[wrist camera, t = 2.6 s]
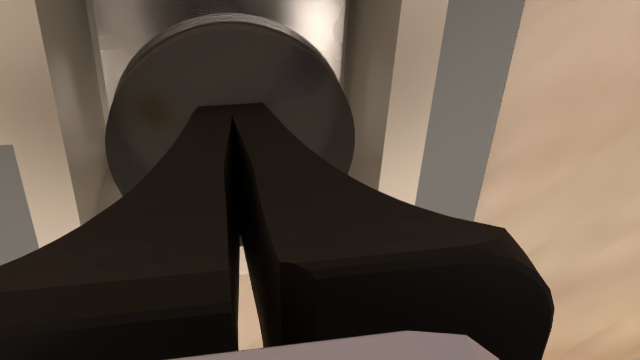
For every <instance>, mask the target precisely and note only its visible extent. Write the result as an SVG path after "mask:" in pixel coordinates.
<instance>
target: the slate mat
mask: <svg viewBox="0 0 640 360" xmlns="http://www.w3.org/2000/svg"><path fill="white" fill-rule="evenodd" d="M524 3H525V0H449V2H448V8H447V14H446V20H445V26H444V32H443V38H442V44H441V50H440V56H439V62H438V68H437V74H436V80H435V86H434V92H433V98H432V104H431V110H430V116H429V122H428V129H427V135H426V141H425V147H424V153H423V159H422V165H421V171H420V177H419V183H418V189H417V195H416V201H415V206H417V207H421V208H424V209H427V210H430V211H434V212H437V213H440V214H443V215H447V216H450V217H455V218H459V219H464V220H468V221H474V217H475V212H476V208H477V204H478V199H479V195H480V191H481V187H482V182H483V178H484V174H485V170H486V165H487V161H488V157H489V153H490V148H491V144H492V140H493V135H494V131H495V127H496V123H497V118H498V114H499V110H500V106H501V101H502V97H503V93H504V88H505V84H506V80H507V76H508V71H509V67H510V63H511V59H512V54H513V50H514V46H515V41H516V37H517V33H518V29H519V24H520V20H521V16H522V12H523V7H524ZM37 249H39V245H38V241H37V238H36V234H35V230H34V226H33V222H32V218H31V214H30V210H29V206H28V203H27V199H26V195H25V191H24V187H23V183H22V179H21V175H20V172H19V168H18V164H17V160H16V156H15V152H14V148H13V145H0V266H1V265H3V264H5V263H8V262H10V261H13V260H15V259H18V258H20V257H22V256H24V255H26V254H29V253H31V252H33V251H35V250H37Z"/></svg>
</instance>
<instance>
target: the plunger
mask: <svg viewBox="0 0 640 360" xmlns="http://www.w3.org/2000/svg"><path fill="white" fill-rule="evenodd" d="M92 3H93V9H94V16H95V22H96V29H97V35H98V42H99V48H100V55H101V62H102V68H103V75H104V81H105V88H106V94H107V101H108V107H109V116H108V120H107V124H106V133H105V148H106V157H107V161H108V166H109V170H110V172H111V175H112V177H113V180H114V182H115V184H116V186H117V187H118V189H119V191H120V193H121V194H122V196H124V195H125V194H126V193H127V192H129V191H130V190H131V189H132V188H133V187H134V186H136V185H137V184H138V183H139V182H140V181H141V180H142V179H143V178H144V177H145V176H146V175H147V174H148V172H149V171H150V170H151V169H152V168H153V167H154V166H155V165H156V163H157V162H158V161H159V160H160V159H161V158H162V157H163V155H164V154H165V153H166V152H167V150H168V149H169V148H170V146H171V145H172V144H173V142H174V141H175V140H176V138H177V137H178V135H179V134H180V133H181V131H182V129H183V128H184V126H185V125H186V123H187V122H188V120H189V118H190V116H191V115H192V113H193V111H194V110H195V109H196V108H197V107H198V106H215V105H232V104H249V103H263V104H264V105H265V106H266V107H268V108H269V110H270V111H271V112H272V113H273V114H274V115H275V116H276V117H277V118H278V119H279V120H280V121H281V123H282V124H283V125H284V126H285V127H286V128H287V129H288V130H289V131H290V132H291V133H293V134H294V135H295V136H296V137H297V138H298V139H299V140H300V141H301V142H302V143H304V144H305V145H306V146H307V147H308V148H309V149H311V150H312V151H313V152H315V153H316V154H317V155H319V156H320V157H321V158H323V159H324V160H325V161H327V162H328V163H329V164H331V165H333V166H334V167H336V168H337V169H339V170H340V171H342V172H344V173H346V174H348V172H349V169H350V166H351V163H352V159H353V153H354V147H355V128H354V120H353V116H352V112H351V109H350V105H349V103H348V100H347V98H346V96H345V94H344V92H343V90H342V87H341V85H340V72H341V58H342V45H343V31H344V18H345V4H346V0H92ZM242 246H243V244H242V239H241V235H240V247H242Z"/></svg>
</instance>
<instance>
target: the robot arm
mask: <svg viewBox="0 0 640 360" xmlns="http://www.w3.org/2000/svg"><path fill="white" fill-rule="evenodd" d="M240 235H241V239H242V244H243V249H244V253H245V258H246V262H247V267H248V272H249V276H250V281H251V285H252V290H253V294H254V299H255V304H256V308H257V313H258V317H259V322H260V328H261V334H262V340H263V348H258V349H250V350H242V351H239V350H238V299H239V265H240ZM553 315H554V304H553V300H552V295H551V291H550V289H549V287H548V286H547V284H546V283H545V281H544V280H543V279H542V277H541V276H540V274H539V273H538V272H537V270H536V268H535V267H534V265H533V264H532V262H531V261H530V259H529V258H528V256H527V255H526V254H525V252H524V251H523V250H522V248H521V247H520V246H519V245H518V244H517V242H516V241H515V240H514V239H513V237H512V236H511V235H510V234H509V233H508V232H507V231H506V229H505V228H501V227H496V226H492V225H487V224H482V223H478V222H473V221H468V220H464V219H459V218H455V217H450V216H447V215H443V214H440V213H437V212H434V211H430V210H427V209H424V208H421V207H417V206H415V205H412V204H409V203H407V202H404V201H401V200H398V199H396V198H394V197H391V196H389V195H387V194H385V193H382V192H380V191H378V190H375V189H373V188H371V187H369V186H367V185H365V184H363V183H361V182H359V181H358V180H356V179H354V178H352V177H351V176H349V175H347V174H346V173H344V172H342V171H340V170H339V169H337V168H336V167H334V166H333V165H331V164H329V163H328V162H327V161H325V160H324V159H323V158H321V157H320V156H319V155H317V154H316V153H315V152H313V151H312V150H311V149H309V148H308V147H307V146H306V145H305V144H304V143H302V142H301V141H300V140H299V139H298V138H297V137H296V136H295V135H294V134H293V133H291V132H290V131H289V130H288V129H287V128H286V127H285V126H284V125H283V124H282V123H281V121H280V120H279V119H278V118H277V117H276V116H275V115H274V114H273V113H272V112H271V111H270V110H269V108H268V107H266V106H265V105H264V104H263V103H249V104H232V105H215V106H198V107H197V108H196V109H195V110H194V111H193V113H192V115H191V116H190V118H189V120H188V122H187V123H186V125H185V126H184V128H183V129H182V131H181V133H180V134H179V135H178V137H177V138H176V140H175V141H174V142H173V144H172V145H171V146H170V148H169V149H168V150H167V152H166V153H165V154H164V155H163V157H162V158H161V159H160V160H159V161H158V162H157V163H156V165H155V166H154V167H153V168H152V169H151V170H150V171H149V172H148V174H147V175H146V176H145V177H144V178H143V179H142V180H141V181H140V182H139V183H138V184H137V185H136V186H134V187H133V188H132V189H131V190H130V191H129V192H127V193H126V194H125V195H124V196H123V197H121V198H120V199H119V200H118V201H116V202H115V203H114V204H112V205H111V206H109V207H108V208H106V209H105V210H103V211H102V212H100V213H99V214H97V215H96V216H95V217H93V218H92V219H90V220H89V221H87V222H86V223H84V224H83V225H81V226H80V227H78V228H76V229H74V230H73V231H71V232H69V233H67V234H66V235H64V236H62V237H60V238H59V239H57V240H55V241H53V242H51V243H49V244H47V245H45V246H43V247H41V248H39V249H37V250H35V251H33V252H31V253H29V254H26V255H24V256H22V257H20V258H18V259H15V260H13V261H10V262H8V263H5V264H3V265H1V266H0V360H542V357H543V353H544V350H545V347H546V344H547V341H548V338H549V335H550V332H551V328H552V322H553Z"/></svg>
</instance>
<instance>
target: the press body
mask: <svg viewBox="0 0 640 360" xmlns="http://www.w3.org/2000/svg"><path fill="white" fill-rule="evenodd" d="M448 2H449V0H346V4H345V18H344V31H343V45H342V58H341V72H340V85H341V87H342V90H343V92H344V94H345V96H346V98H347V100H348V103H349V105H350V109H351V112H352V116H353V120H354V128H355V147H354V153H353V159H352V163H351V166H350V169H349V172H348V174H347V175H349V176H351V177H352V178H354V179H356V180H358V181H359V182H361V183H363V184H365V185H367V186H369V187H371V188H373V189H375V190H378V191H380V192H382V193H385V194H387V195H389V196H391V197H394V198H396V199H398V200H401V201H404V202H407V203H409V204H412V205H415V201H416V195H417V189H418V183H419V177H420V171H421V165H422V159H423V153H424V147H425V141H426V135H427V129H428V122H429V116H430V110H431V104H432V98H433V92H434V86H435V80H436V74H437V68H438V62H439V56H440V50H441V44H442V38H443V32H444V26H445V20H446V14H447V8H448ZM108 116H109V107H108V101H107V94H106V88H105V81H104V75H103V68H102V62H101V55H100V48H99V42H98V35H97V29H96V22H95V16H94V9H93V3H92V0H0V145H13V148H14V152H15V156H16V160H17V164H18V168H19V172H20V175H21V179H22V183H23V187H24V191H25V195H26V199H27V203H28V206H29V210H30V214H31V218H32V222H33V226H34V230H35V234H36V238H37V241H38V245H39V248H41V247H43V246H45V245H47V244H49V243H51V242H53V241H55V240H57V239H59V238H60V237H62V236H64V235H66V234H67V233H69V232H71V231H73V230H74V229H76V228H78V227H80V226H81V225H83V224H84V223H86V222H87V221H89V220H90V219H92V218H93V217H95V216H96V215H97V214H99V213H100V212H102V211H103V210H105V209H106V208H108V207H109V206H111V205H112V204H114V203H115V202H116V201H118V200H119V199H120V198H121V197H123V196H122V194H121V193H120V191H119V189H118V187H117V186H116V184H115V182H114V180H113V177H112V175H111V172H110V170H109V166H108V161H107V157H106V148H105V133H106V124H107V120H108ZM243 274H249V272H248V267H247V262H246V258H245V253H244V249H243V246H242V247H240V265H239V275H243Z"/></svg>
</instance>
